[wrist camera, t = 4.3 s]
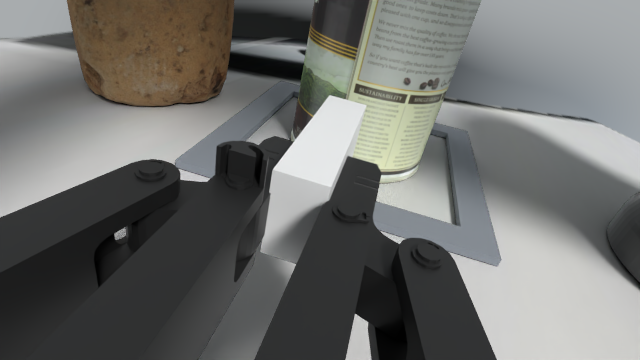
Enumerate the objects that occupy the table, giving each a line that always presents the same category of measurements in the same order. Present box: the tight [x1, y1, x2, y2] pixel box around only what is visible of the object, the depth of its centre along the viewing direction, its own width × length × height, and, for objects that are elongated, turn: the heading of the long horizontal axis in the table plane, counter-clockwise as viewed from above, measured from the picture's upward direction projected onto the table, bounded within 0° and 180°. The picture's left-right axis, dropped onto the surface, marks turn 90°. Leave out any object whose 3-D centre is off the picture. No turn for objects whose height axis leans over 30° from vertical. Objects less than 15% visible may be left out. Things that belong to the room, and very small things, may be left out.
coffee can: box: [291, 0, 481, 183], centre depth 26 cm, size 10×10×14 cm
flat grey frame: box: [176, 81, 501, 266], centre depth 29 cm, size 19×19×1 cm
